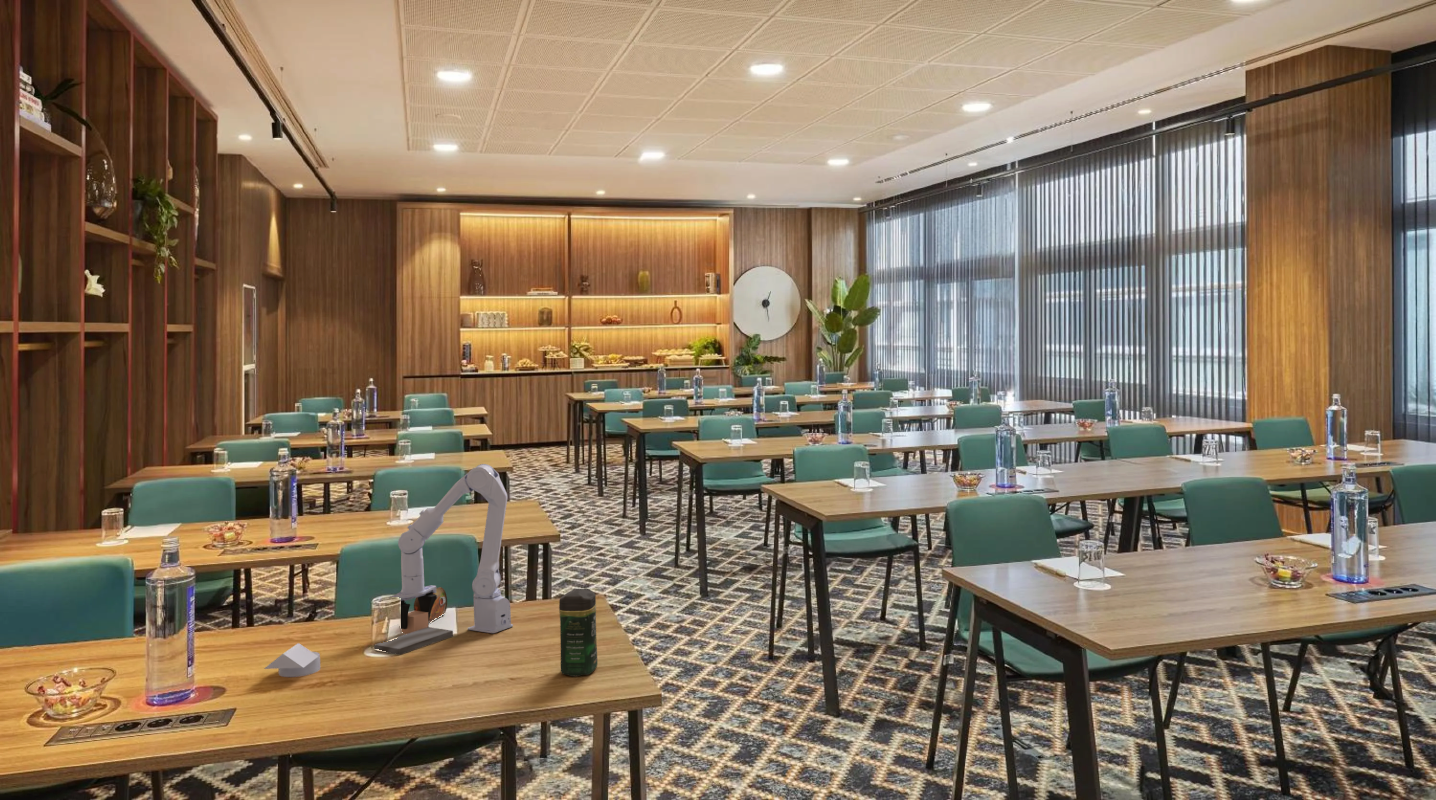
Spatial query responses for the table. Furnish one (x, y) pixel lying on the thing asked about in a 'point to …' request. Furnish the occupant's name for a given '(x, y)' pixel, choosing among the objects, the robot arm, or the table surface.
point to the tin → (435, 604)
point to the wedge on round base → (296, 662)
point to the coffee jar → (578, 632)
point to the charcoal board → (414, 640)
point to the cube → (416, 621)
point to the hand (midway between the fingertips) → (414, 624)
